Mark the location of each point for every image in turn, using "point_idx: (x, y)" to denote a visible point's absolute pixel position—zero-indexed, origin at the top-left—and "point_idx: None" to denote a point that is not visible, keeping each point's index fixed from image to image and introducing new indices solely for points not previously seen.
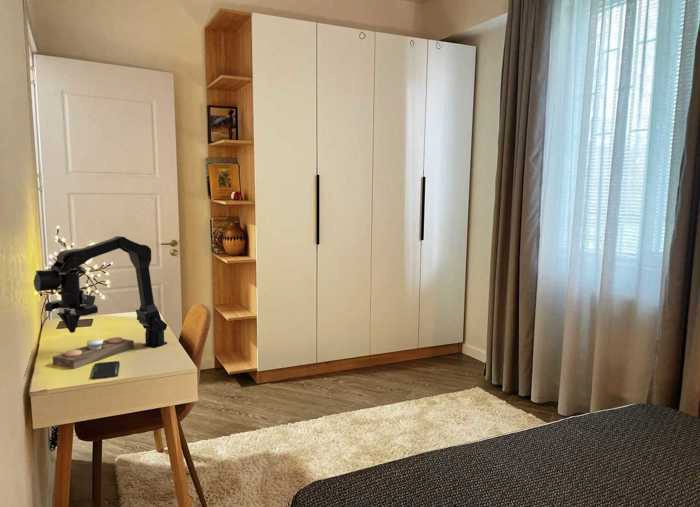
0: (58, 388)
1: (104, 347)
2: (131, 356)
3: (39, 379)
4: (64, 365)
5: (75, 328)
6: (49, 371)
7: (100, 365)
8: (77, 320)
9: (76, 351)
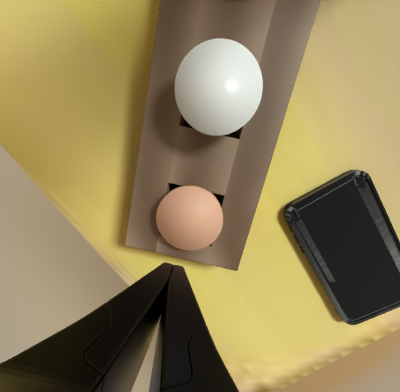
0: (290, 379)
1: None
2: (373, 73)
3: None
4: None
5: (188, 285)
6: None
7: (314, 225)
8: (217, 376)
9: (196, 208)
